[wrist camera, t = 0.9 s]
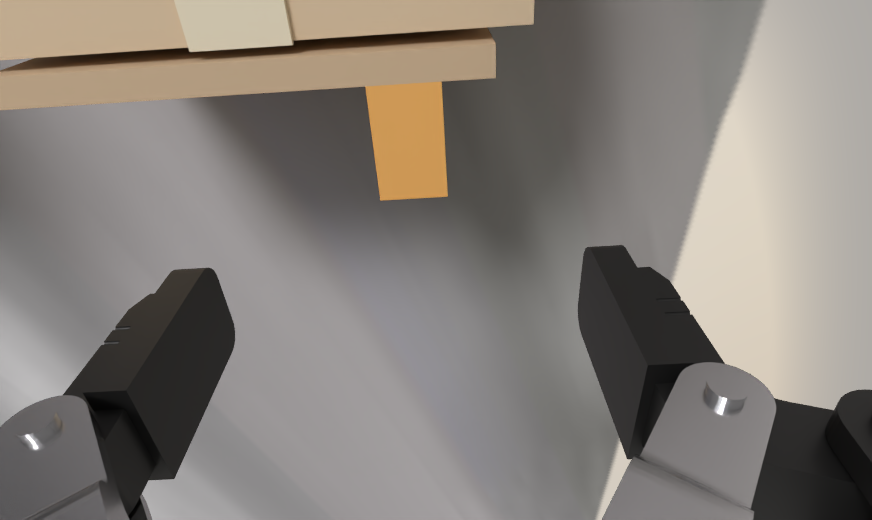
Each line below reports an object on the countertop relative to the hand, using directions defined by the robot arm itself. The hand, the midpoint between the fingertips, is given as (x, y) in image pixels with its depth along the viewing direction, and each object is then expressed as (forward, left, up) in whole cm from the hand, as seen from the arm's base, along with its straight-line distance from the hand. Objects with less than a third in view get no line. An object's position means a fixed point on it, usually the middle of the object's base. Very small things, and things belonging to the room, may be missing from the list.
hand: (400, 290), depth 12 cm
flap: (-1, -5, -19) cm, 19 cm away
